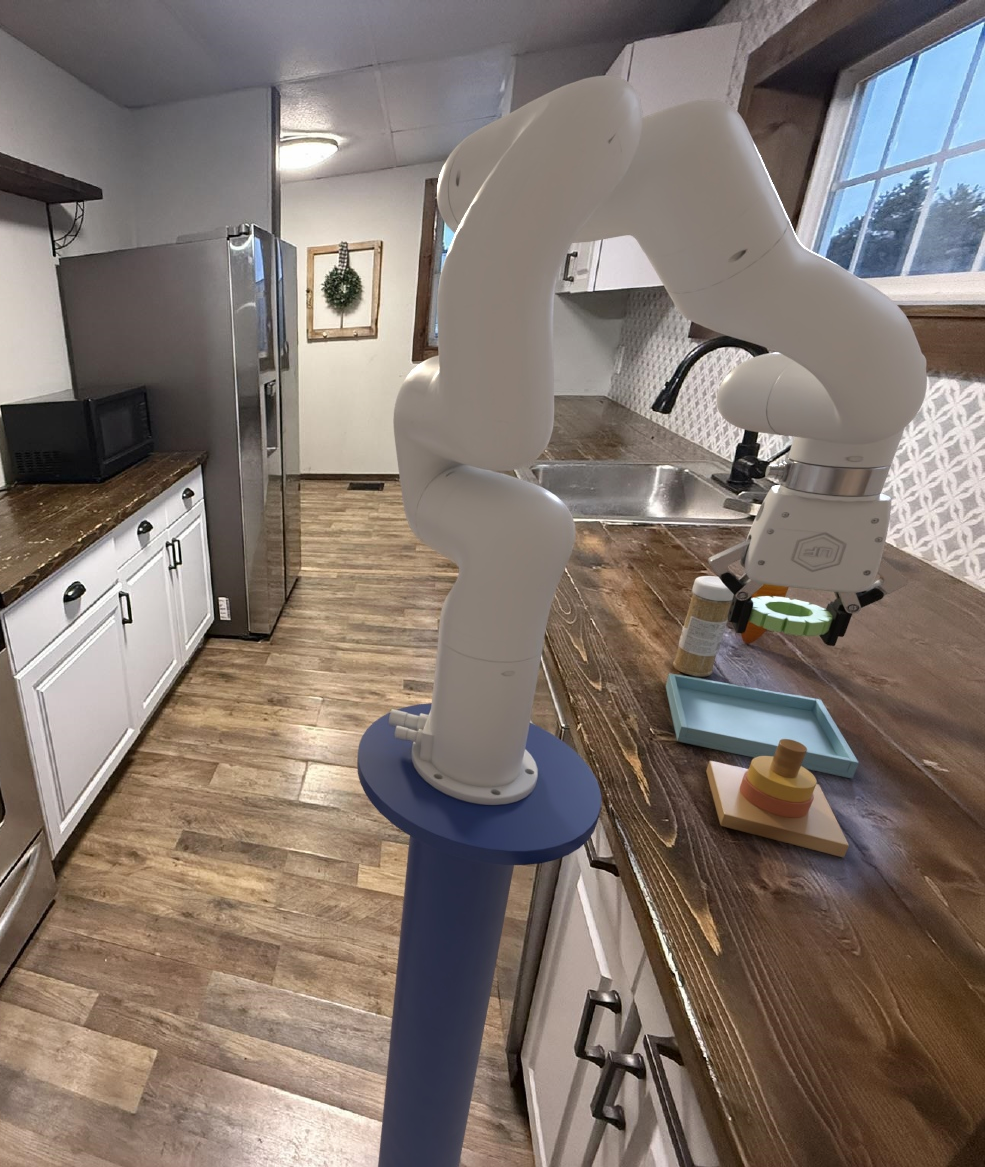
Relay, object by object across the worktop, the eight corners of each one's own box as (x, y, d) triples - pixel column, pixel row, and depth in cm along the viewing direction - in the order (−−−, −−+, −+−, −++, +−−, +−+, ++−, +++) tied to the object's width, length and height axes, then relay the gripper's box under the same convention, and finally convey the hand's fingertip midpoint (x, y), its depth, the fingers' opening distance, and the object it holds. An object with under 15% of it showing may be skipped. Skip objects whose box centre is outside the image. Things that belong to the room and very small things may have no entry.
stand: (720, 826, 61) (742, 759, 58) (705, 771, 68) (725, 709, 65) (844, 858, 57) (875, 788, 54) (814, 796, 64) (841, 731, 61)
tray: (677, 741, 73) (681, 726, 72) (665, 686, 84) (669, 673, 83) (852, 778, 66) (859, 762, 65) (815, 713, 77) (821, 699, 76)
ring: (751, 629, 68) (755, 616, 68) (738, 605, 74) (742, 592, 73) (837, 641, 65) (842, 627, 64) (817, 614, 71) (821, 601, 70)
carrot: (733, 633, 96) (761, 540, 90) (774, 644, 92) (806, 549, 87) (720, 642, 94) (748, 548, 88) (761, 655, 90) (793, 557, 84)
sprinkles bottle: (681, 658, 90) (704, 572, 85) (718, 671, 86) (745, 582, 81) (665, 668, 88) (688, 580, 83) (703, 682, 84) (729, 590, 79)
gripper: (730, 481, 64) (689, 634, 71) (973, 493, 56) (901, 665, 63) (718, 466, 70) (681, 609, 77) (936, 475, 62) (874, 633, 69)
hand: (780, 633), depth 70 cm, fingers closed on ring, 7 cm apart
